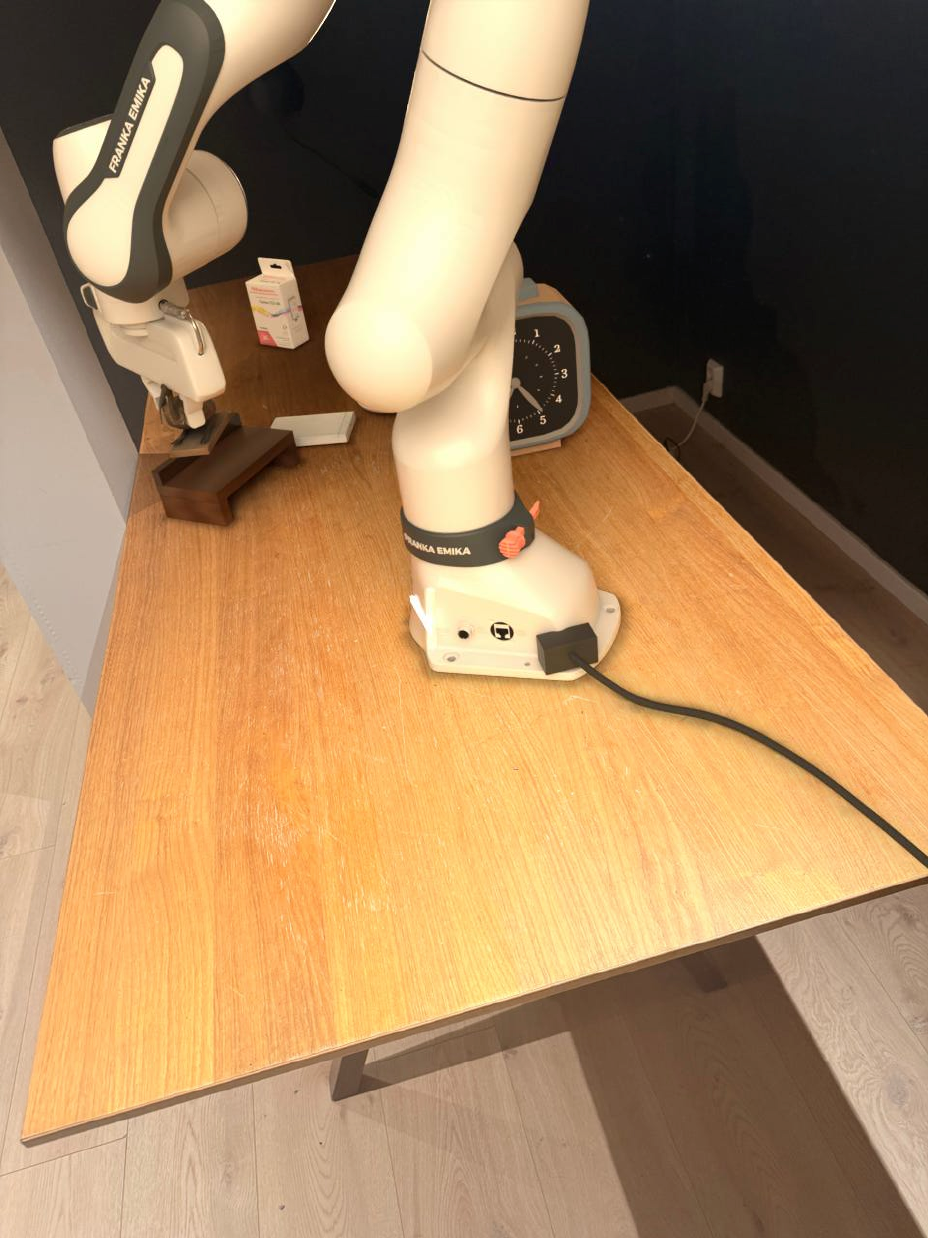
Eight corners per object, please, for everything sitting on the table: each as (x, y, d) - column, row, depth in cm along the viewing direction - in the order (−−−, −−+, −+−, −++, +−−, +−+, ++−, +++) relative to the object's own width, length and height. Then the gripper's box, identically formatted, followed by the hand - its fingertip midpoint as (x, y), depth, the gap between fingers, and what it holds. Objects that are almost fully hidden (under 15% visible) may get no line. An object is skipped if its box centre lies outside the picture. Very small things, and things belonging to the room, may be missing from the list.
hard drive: (263, 440, 140) (345, 433, 139) (275, 416, 147) (354, 408, 145) (266, 450, 141) (347, 443, 140) (278, 426, 148) (356, 418, 146)
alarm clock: (449, 473, 129) (426, 315, 116) (436, 443, 136) (413, 292, 123) (594, 442, 131) (588, 284, 118) (574, 415, 138) (566, 264, 125)
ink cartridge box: (259, 345, 178) (238, 265, 169) (276, 335, 181) (257, 256, 172) (293, 349, 174) (274, 268, 165) (310, 339, 177) (292, 258, 168)
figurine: (199, 472, 102) (174, 396, 97) (159, 476, 102) (132, 401, 97) (231, 417, 113) (210, 346, 108) (195, 421, 113) (172, 350, 108)
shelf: (300, 461, 137) (289, 417, 133) (226, 526, 124) (211, 479, 120) (244, 455, 141) (231, 411, 137) (167, 517, 128) (150, 471, 124)
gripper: (220, 300, 92) (255, 430, 101) (126, 269, 105) (163, 386, 114) (162, 321, 89) (203, 454, 97) (72, 286, 102) (115, 406, 110)
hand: (181, 417), depth 106 cm, fingers closed on figurine, 5 cm apart
